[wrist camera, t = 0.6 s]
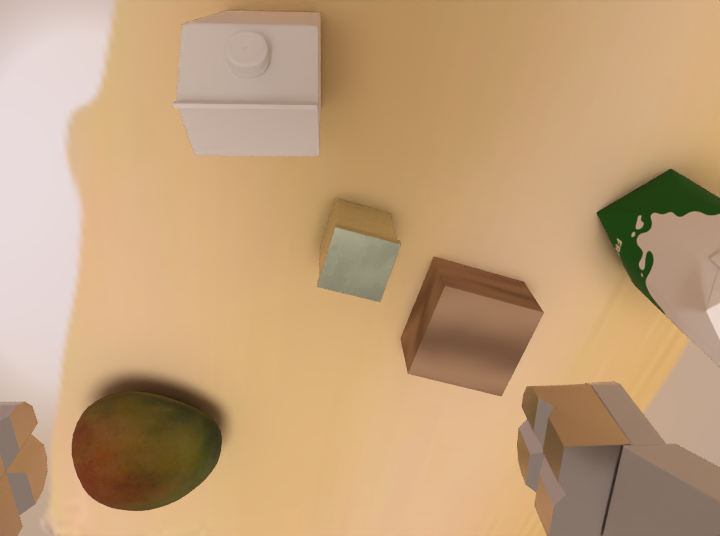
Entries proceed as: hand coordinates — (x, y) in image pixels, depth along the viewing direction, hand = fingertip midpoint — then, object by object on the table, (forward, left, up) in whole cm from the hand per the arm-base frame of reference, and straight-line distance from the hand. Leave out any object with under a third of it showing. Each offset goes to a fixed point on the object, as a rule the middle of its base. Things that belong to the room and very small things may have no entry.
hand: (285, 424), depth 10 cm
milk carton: (0, -4, -42) cm, 42 cm away
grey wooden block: (+12, +6, -42) cm, 44 cm away
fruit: (+36, -7, -42) cm, 55 cm away
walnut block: (+17, +18, -42) cm, 49 cm away
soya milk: (+4, +31, -42) cm, 52 cm away
